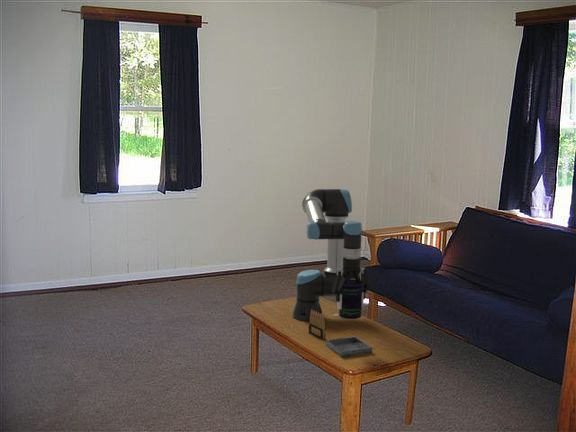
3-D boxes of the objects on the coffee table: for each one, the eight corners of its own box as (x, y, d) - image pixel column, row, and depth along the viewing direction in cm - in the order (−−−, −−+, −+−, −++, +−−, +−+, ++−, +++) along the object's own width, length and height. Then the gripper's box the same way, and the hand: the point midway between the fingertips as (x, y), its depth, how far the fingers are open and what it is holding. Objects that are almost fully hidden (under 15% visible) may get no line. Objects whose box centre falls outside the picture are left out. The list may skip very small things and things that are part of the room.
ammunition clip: (325, 339, 302) (326, 314, 300) (322, 340, 301) (323, 314, 299) (311, 332, 311) (312, 308, 309) (308, 333, 310) (309, 308, 308)
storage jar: (355, 311, 293) (357, 278, 291) (365, 318, 284) (366, 284, 282) (335, 313, 290) (336, 280, 288) (343, 320, 281) (344, 286, 279)
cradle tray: (325, 345, 294) (326, 340, 293) (355, 341, 300) (355, 336, 299) (341, 357, 280) (341, 351, 280) (372, 352, 286) (372, 347, 286)
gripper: (332, 261, 275) (330, 312, 279) (379, 257, 284) (377, 307, 288) (324, 257, 282) (323, 307, 286) (370, 253, 291) (368, 302, 294)
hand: (350, 307), depth 287 cm, fingers closed on storage jar, 10 cm apart
